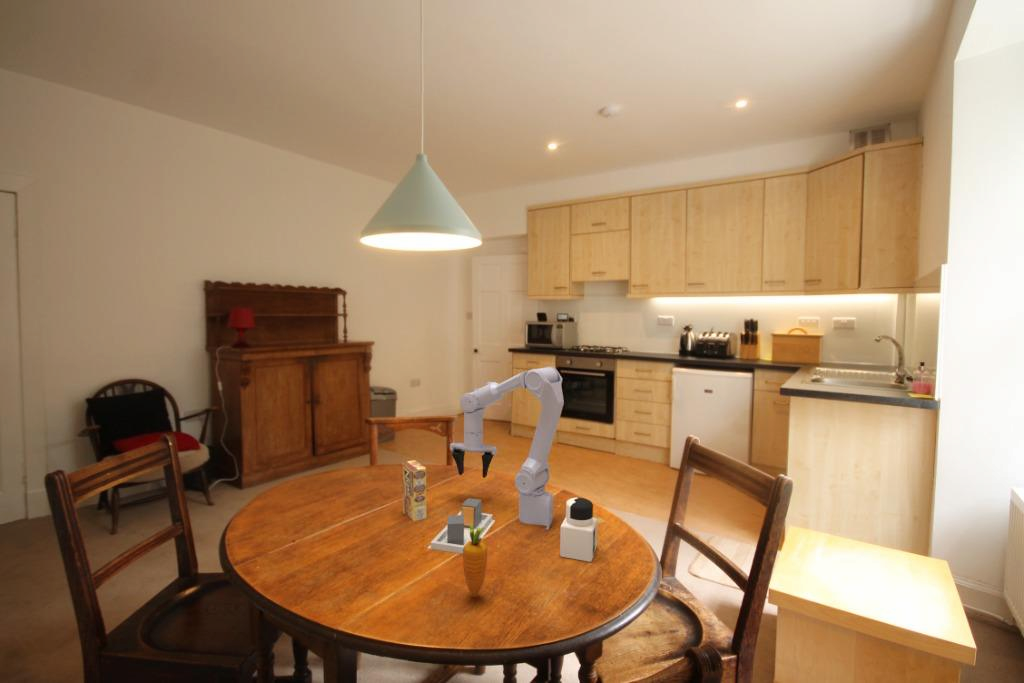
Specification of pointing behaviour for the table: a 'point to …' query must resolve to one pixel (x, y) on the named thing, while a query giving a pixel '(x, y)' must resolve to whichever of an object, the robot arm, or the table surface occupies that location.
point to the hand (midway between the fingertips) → (472, 475)
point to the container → (578, 530)
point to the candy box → (414, 490)
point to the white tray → (441, 538)
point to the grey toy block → (472, 512)
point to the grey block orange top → (455, 529)
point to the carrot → (475, 561)
